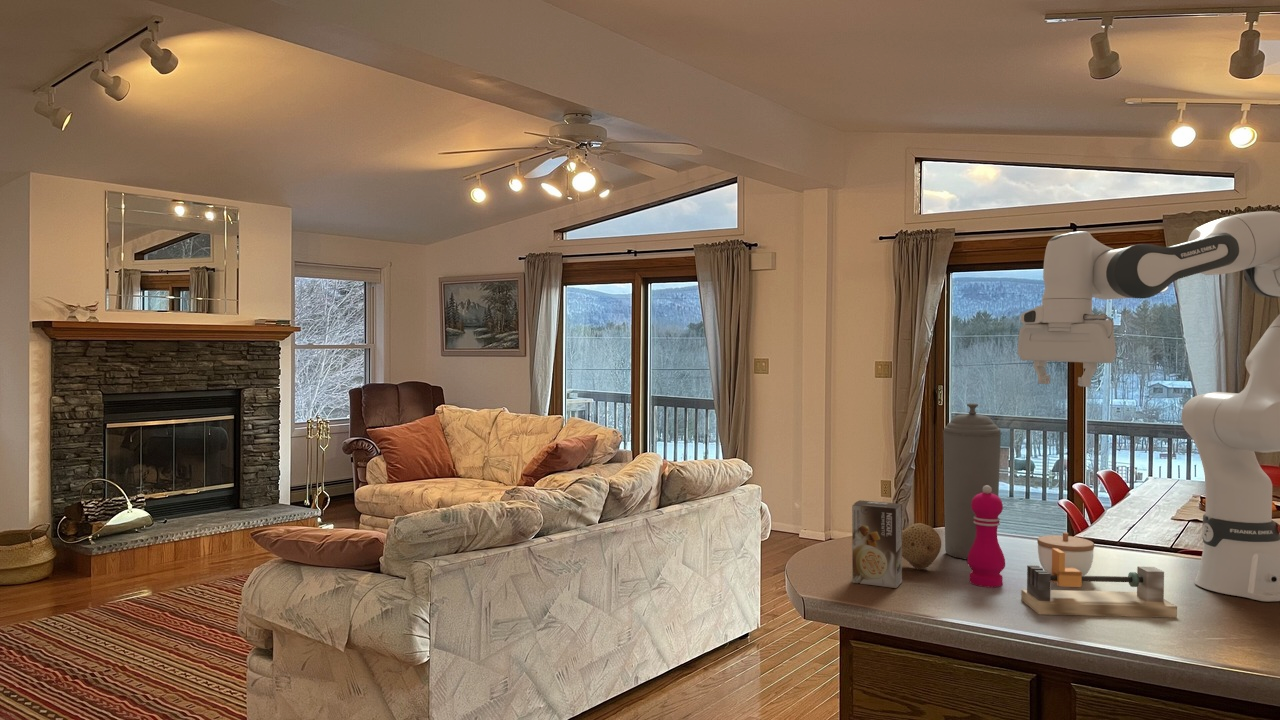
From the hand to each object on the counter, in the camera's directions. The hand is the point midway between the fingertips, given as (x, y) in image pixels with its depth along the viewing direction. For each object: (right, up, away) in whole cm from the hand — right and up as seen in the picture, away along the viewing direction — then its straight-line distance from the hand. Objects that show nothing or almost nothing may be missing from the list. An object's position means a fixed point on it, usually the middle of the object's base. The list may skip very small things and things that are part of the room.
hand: (1063, 385), depth 176 cm
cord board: (+1, -41, -10) cm, 42 cm away
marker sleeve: (-4, -36, -10) cm, 38 cm away
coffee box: (-35, -41, +7) cm, 54 cm away
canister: (-7, -40, +30) cm, 51 cm away
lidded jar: (+6, -41, +11) cm, 43 cm away
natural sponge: (-23, -40, +17) cm, 50 cm away
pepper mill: (-13, -41, +7) cm, 43 cm away
